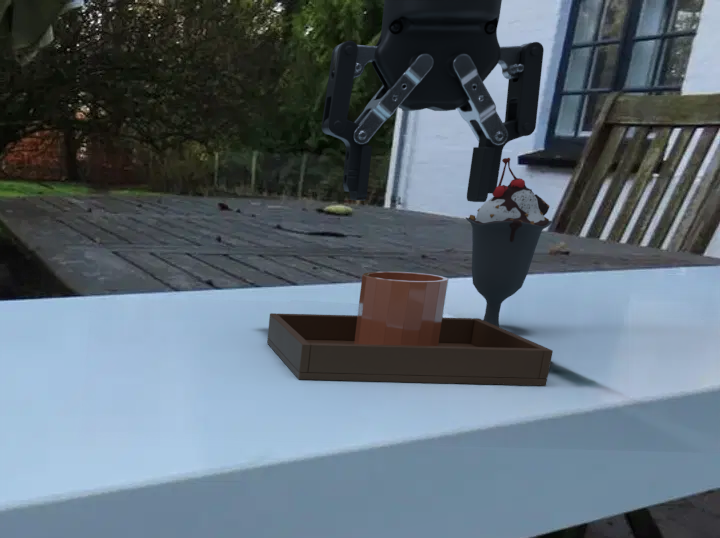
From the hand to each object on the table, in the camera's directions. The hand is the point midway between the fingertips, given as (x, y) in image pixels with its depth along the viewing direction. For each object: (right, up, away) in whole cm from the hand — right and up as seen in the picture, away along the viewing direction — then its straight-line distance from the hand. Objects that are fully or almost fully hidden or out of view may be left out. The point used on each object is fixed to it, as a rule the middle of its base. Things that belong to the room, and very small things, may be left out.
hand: (417, 200), depth 67 cm
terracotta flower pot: (0, -11, +3) cm, 11 cm away
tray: (0, -11, +4) cm, 12 cm away
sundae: (+11, -8, +13) cm, 19 cm away
